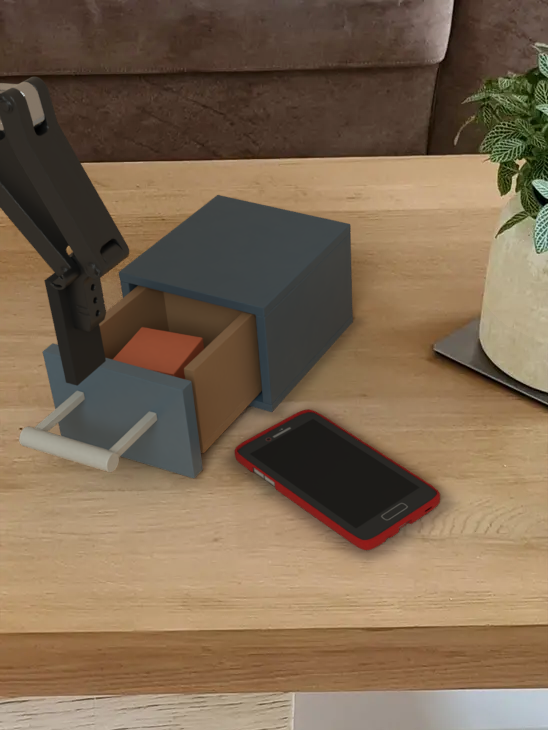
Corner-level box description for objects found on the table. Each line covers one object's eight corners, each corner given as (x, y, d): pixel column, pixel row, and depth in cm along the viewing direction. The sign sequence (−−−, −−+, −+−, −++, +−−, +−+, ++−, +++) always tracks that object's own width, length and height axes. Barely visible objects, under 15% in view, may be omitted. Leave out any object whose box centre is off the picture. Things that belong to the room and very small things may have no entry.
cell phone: (366, 556, 79) (366, 546, 78) (229, 459, 86) (228, 448, 86) (445, 503, 83) (445, 493, 83) (308, 415, 91) (308, 405, 90)
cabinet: (272, 413, 91) (263, 308, 85) (135, 375, 95) (118, 271, 89) (353, 322, 102) (350, 223, 96) (227, 291, 106) (217, 194, 100)
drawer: (145, 532, 79) (129, 441, 74) (6, 488, 82) (-18, 398, 77) (284, 380, 93) (278, 296, 88) (162, 348, 96) (150, 264, 92)
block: (119, 417, 87) (109, 361, 84) (150, 381, 91) (141, 326, 88) (181, 429, 86) (173, 373, 83) (209, 392, 90) (203, 337, 87)
